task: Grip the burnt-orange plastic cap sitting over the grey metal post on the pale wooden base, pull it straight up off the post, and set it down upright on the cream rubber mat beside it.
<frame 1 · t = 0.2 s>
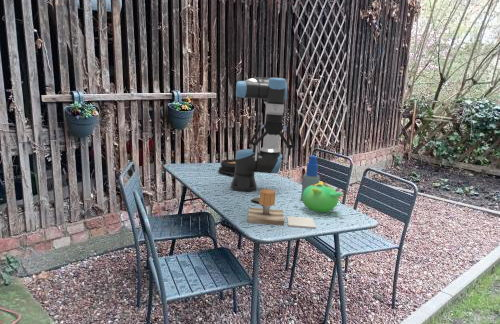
hand: (270, 161, 172), 27 cm above the table, tool pointing down, fingers open, 13 cm apart
soupspoon: (261, 207, 195), on the table
spray bottle: (309, 201, 210), on the table
casserole: (232, 173, 264), on the table
pad: (300, 223, 173), on the table
post base: (265, 218, 176), on the table
cap: (266, 203, 175), point 7 cm above the table, touching post base
toy bird: (319, 211, 192), on the table
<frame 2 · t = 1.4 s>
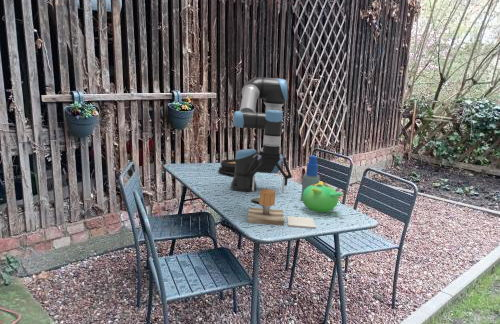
hand: (267, 191, 174), 13 cm above the table, tool pointing down, fingers open, 13 cm apart
nothing on the table moved.
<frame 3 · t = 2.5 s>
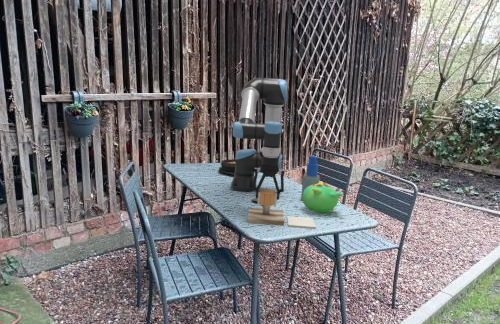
hand: (266, 205, 175), 6 cm above the table, tool pointing down, fingers closed on cap, 7 cm apart
cap: (266, 203, 175), point 7 cm above the table, touching gripper, post base
everything else where it was.
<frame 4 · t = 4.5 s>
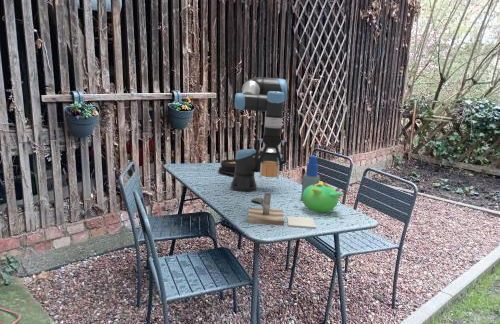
hand: (268, 177, 173), 19 cm above the table, tool pointing down, fingers closed on cap, 7 cm apart
cap: (269, 175, 173), point 20 cm above the table, touching gripper
everything else where it was.
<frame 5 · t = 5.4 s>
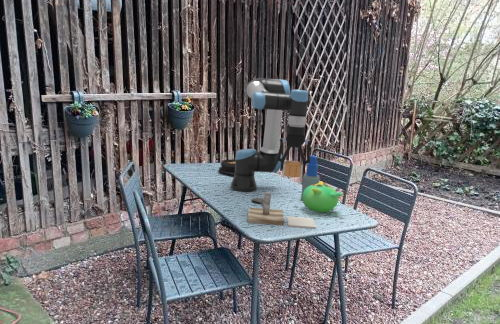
hand: (291, 177, 170), 21 cm above the table, tool pointing down, fingers closed on cap, 7 cm apart
cap: (292, 175, 170), point 22 cm above the table, touching gripper
everything else where it was.
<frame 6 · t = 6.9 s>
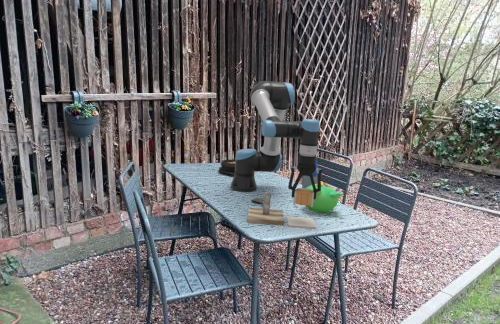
hand: (302, 205, 171), 9 cm above the table, tool pointing down, fingers closed on cap, 7 cm apart
cap: (303, 203, 171), point 9 cm above the table, touching gripper
everything else where it was.
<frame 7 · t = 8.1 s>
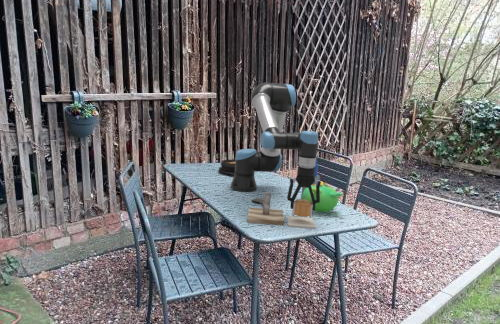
hand: (301, 216, 172), 3 cm above the table, tool pointing down, fingers closed on cap, 7 cm apart
cap: (301, 214, 172), point 4 cm above the table, touching gripper
everything else where it was.
when the fingers open (2 cm above the table, at t = 8.8 s): cap drops 2 cm, resting on pad.
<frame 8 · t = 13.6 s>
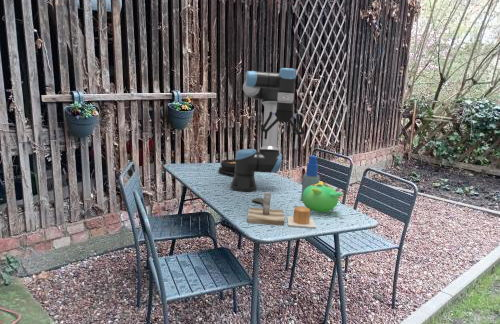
hand: (281, 147, 182), 32 cm above the table, tool pointing down, fingers open, 13 cm apart
cap: (301, 221, 173), point 1 cm above the table, touching pad
everything else where it was.
at the end: cap inside the target area on the pad (0.0 cm from its centre), point 0.8 cm above the pad's base; cap tilted 0°; the gripper is holding nothing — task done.
